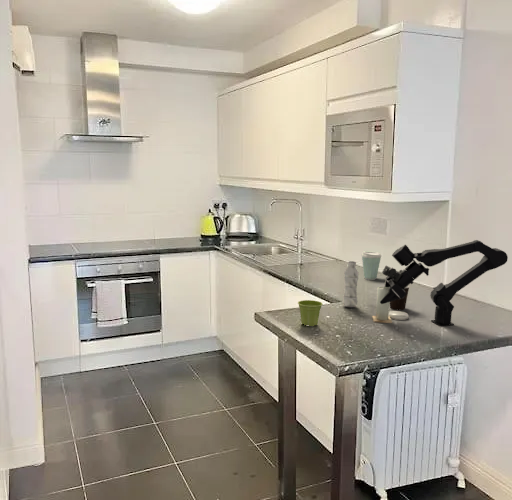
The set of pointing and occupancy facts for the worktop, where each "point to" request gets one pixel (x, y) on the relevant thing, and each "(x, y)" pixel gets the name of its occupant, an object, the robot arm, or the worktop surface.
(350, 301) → the plastic bottle
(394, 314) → the ivory rounded dome part
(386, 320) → the coaster
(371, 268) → the disposable coffee cup
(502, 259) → the robot arm
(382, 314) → the tumbler
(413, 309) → the worktop surface
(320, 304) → the plant pot
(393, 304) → the coffee mug
